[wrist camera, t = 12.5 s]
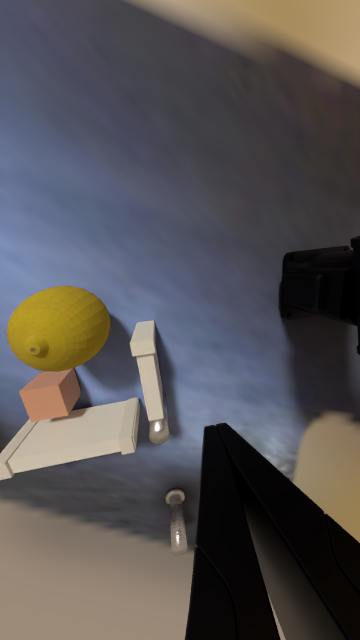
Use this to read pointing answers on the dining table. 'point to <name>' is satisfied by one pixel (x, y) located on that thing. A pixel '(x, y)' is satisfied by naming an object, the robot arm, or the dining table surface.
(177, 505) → the post
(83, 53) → the dining table surface
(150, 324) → the fence panel
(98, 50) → the dining table surface
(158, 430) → the hinge post
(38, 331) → the lemon
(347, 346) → the dining table surface
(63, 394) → the block
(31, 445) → the gate
